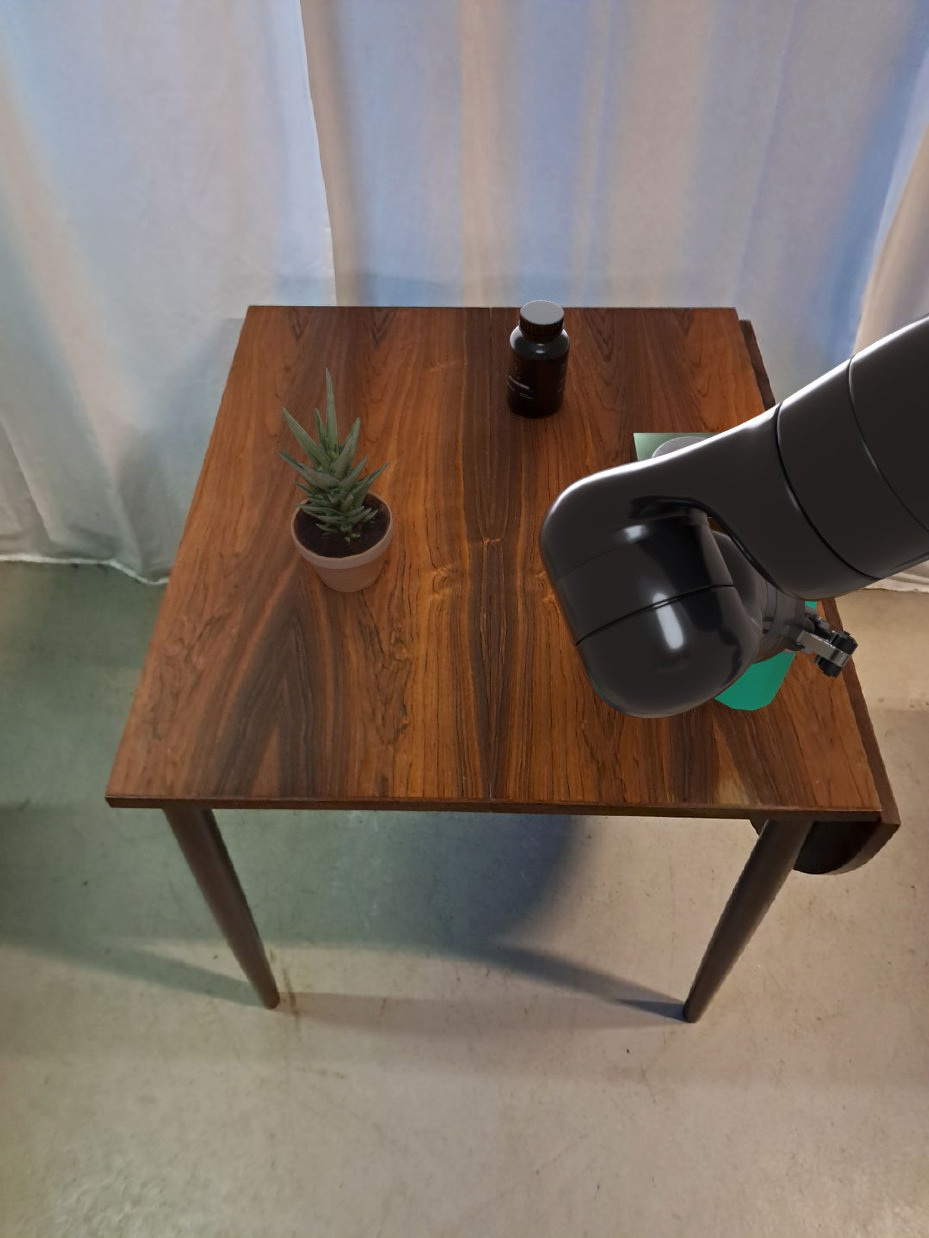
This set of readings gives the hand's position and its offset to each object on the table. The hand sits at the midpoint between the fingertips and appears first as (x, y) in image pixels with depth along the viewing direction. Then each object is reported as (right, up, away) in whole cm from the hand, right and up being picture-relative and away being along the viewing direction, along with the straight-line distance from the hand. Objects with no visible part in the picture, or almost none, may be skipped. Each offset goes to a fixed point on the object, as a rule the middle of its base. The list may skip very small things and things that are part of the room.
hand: (775, 609), depth 66 cm
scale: (+1, +13, +29) cm, 32 cm away
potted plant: (-34, +4, +23) cm, 41 cm away
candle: (-1, -6, +5) cm, 8 cm away
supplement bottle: (-15, +25, +39) cm, 48 cm away
